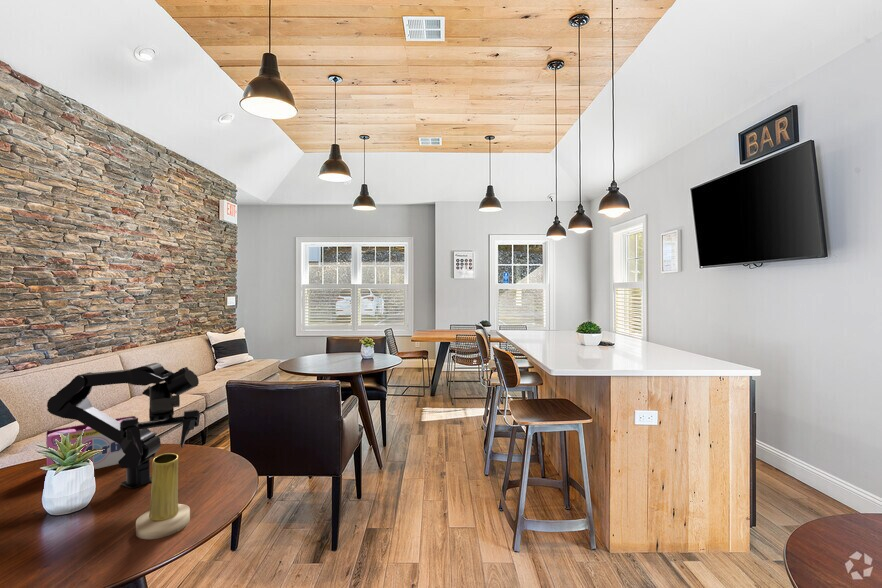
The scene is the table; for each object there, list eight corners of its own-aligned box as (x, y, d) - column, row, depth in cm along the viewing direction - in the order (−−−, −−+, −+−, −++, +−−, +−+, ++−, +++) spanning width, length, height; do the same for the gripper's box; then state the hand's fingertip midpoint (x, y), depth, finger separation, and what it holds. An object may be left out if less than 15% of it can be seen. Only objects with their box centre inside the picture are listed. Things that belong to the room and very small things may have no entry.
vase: (161, 504, 105) (163, 450, 104) (184, 507, 105) (186, 453, 103) (142, 519, 99) (143, 462, 97) (166, 523, 99) (168, 466, 97)
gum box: (138, 452, 149) (138, 414, 149) (142, 458, 143) (142, 419, 143) (46, 473, 132) (46, 430, 132) (46, 481, 126) (46, 436, 126)
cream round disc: (126, 533, 99) (126, 520, 99) (173, 511, 109) (173, 500, 109) (152, 545, 94) (152, 532, 94) (199, 522, 104) (199, 510, 104)
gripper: (120, 391, 113) (117, 443, 104) (199, 382, 124) (203, 429, 115) (122, 412, 120) (119, 464, 111) (196, 402, 131) (200, 448, 122)
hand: (162, 450), depth 114 cm, fingers open, 9 cm apart
